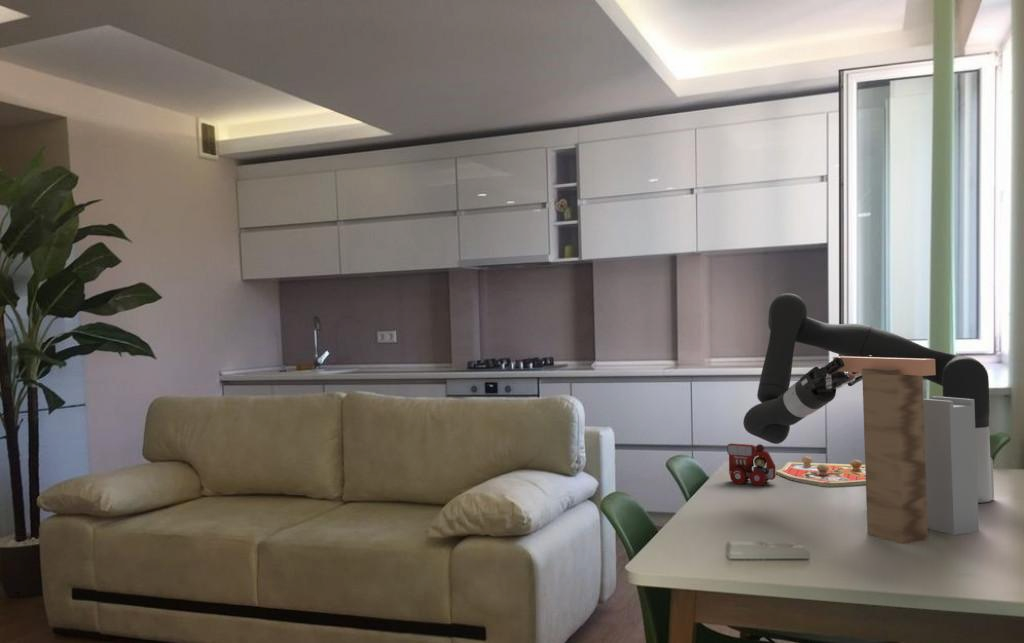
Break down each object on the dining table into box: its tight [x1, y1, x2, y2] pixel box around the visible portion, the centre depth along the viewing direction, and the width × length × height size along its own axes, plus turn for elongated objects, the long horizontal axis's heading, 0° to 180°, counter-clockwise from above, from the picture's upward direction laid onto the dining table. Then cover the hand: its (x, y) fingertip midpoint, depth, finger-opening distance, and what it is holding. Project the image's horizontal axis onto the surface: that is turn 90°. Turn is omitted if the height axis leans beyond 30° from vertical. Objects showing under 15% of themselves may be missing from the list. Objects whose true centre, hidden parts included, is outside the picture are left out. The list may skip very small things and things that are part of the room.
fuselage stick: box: [832, 355, 936, 376], centre depth 154 cm, size 3×22×3 cm, turn 22°
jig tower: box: [861, 368, 929, 545], centre depth 152 cm, size 7×8×33 cm
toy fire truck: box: [726, 442, 777, 487], centre depth 206 cm, size 7×12×10 cm, turn 58°
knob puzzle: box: [775, 455, 866, 488], centre depth 212 cm, size 29×30×4 cm
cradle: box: [923, 395, 980, 536], centre depth 157 cm, size 7×9×26 cm
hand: (857, 360), depth 160 cm, fingers open, 8 cm apart
